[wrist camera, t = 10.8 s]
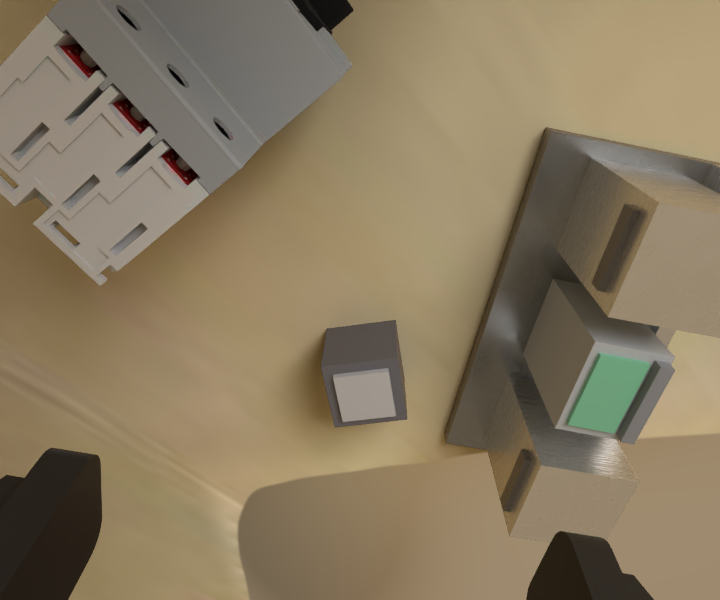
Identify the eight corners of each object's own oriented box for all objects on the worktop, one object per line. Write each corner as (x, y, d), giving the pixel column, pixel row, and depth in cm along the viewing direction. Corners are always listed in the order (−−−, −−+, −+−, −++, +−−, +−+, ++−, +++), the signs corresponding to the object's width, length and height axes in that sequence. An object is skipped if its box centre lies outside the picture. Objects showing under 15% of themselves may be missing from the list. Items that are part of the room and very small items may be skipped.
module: (553, 278, 37) (599, 348, 29) (617, 291, 37) (681, 364, 29) (523, 353, 40) (558, 436, 32) (583, 365, 40) (633, 450, 32)
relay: (327, 328, 41) (320, 370, 36) (395, 319, 40) (398, 361, 35) (339, 384, 43) (334, 431, 38) (404, 376, 42) (407, 423, 38)
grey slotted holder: (546, 127, 34) (608, 168, 25) (718, 162, 34) (841, 215, 25) (444, 432, 45) (461, 540, 35) (577, 455, 45) (627, 566, 36)
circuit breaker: (377, 37, 32) (377, 54, 18) (200, 187, 36) (95, 289, 23) (290, -88, 29) (217, -174, 16) (110, 89, 33) (-67, 139, 20)
